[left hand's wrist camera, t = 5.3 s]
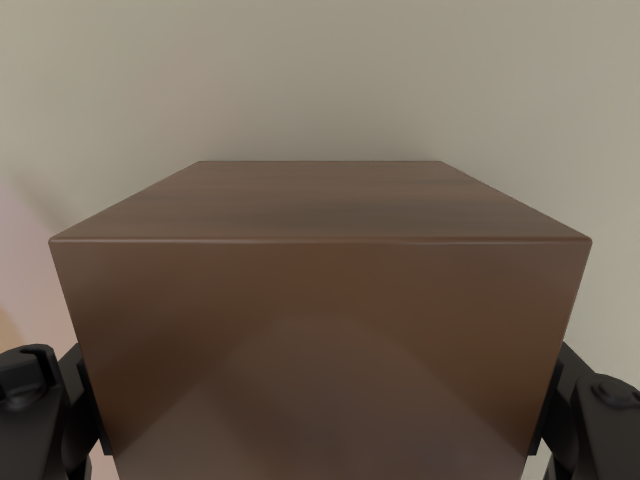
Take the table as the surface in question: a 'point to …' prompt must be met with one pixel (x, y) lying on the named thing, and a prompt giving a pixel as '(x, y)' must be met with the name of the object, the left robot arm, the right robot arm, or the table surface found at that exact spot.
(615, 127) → the table surface
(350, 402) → the thick board
